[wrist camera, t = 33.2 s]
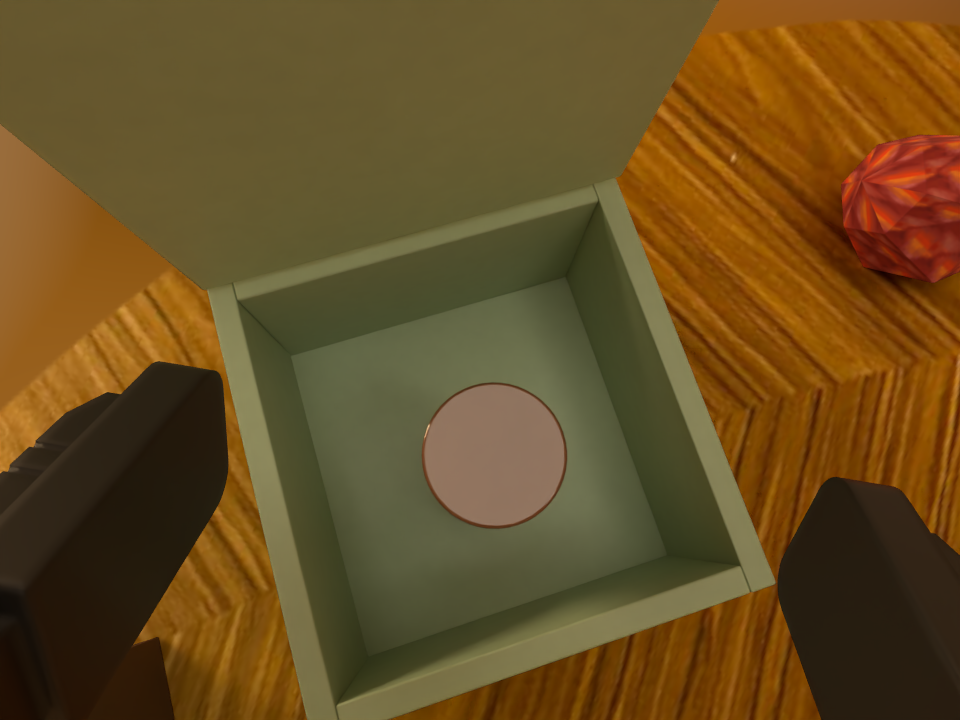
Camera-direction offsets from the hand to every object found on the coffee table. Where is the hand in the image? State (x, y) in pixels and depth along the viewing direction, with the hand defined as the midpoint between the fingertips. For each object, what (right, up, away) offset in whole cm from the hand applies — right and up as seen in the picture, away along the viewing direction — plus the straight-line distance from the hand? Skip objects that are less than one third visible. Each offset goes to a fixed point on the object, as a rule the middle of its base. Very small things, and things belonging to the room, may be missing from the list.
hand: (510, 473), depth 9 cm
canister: (0, -3, +18) cm, 18 cm away
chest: (-1, -2, +19) cm, 19 cm away
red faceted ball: (+18, +7, +22) cm, 29 cm away
